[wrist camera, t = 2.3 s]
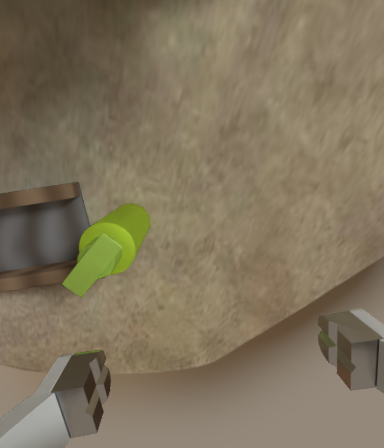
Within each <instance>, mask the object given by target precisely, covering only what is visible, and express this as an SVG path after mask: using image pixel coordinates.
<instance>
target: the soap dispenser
mask: <svg viewBox="0 0 384 448" xmlns="http://www.w3.org/2000/svg"><path fill="white" fill-rule="evenodd" d="M149 227H150V218H149V215H148V213H147V212H146V210H145V209H144V208H142V207H141V206H139V205H136V204H125V205H122V206H121V207H119V208H118V209H116V210H115V211H113V212H112V213H110V214H109V215H107V216H106V217H104V218H103V219H101V220H100V221H98V222H96V223H95V224H93V225H92V226H90V227H89V228H88V229H87V230H86V231H85V232H84V233H83V234H82V236H81V238H80V242H79V252H80V253H79V255H78V258H77V265H76V266H75V267H74V269H73V270H72V271H71V272H70V274H69V275H68V276H67V278H66V279H65V280H64V281H63V283H62V285H63V286H65V287H66V288H68V289H69V290H71V291H72V292H74V293H75V294H77V295H78V296H80V297H81V298H82V297H83V296H84V294H85V293H86V292H87V291H88V289H89V288H90V287H91V286H92V285H93V283H94V282H95V281H96V280H97V279H102V278H105V277H107V276H108V275H114V274H118V273H120V272H123V271H124V270H126V269H127V268H128V267H129V266H130V265H131V263H132V262H133V260H134V258H135V256H136V254H137V252H138V250H139V248H140V246H141V244H142V242H143V240H144V238H145V236H146V234H147V232H148V230H149Z"/></svg>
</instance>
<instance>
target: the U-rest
mask: <svg viewBox="0 0 384 448" xmlns="http://www.w3.org/2000/svg"><path fill="white" fill-rule="evenodd" d="M89 227H90V224H89V221H88V217H87V213H86V209H85V205H84V201H83V198H82V194H81V190H80V186H79V182H75V183H68V184H61V185H55V186H48V187H42V188H35V189H28V190H22V191H15V192H9V193H2V194H0V292H5V291H11V290H17V289H24V288H30V287H36V286H43V285H49V284H55V283H62V282H63V281H64V280H65V279H66V278H67V276H68V275H69V274H70V272H71V271H72V270H73V269H74V267H75V266H76V265H77V258H78V255H79V253H80V252H79V242H80V238H81V236H82V234H83V233H84V232H85V231H86V230H87V229H88V228H89Z"/></svg>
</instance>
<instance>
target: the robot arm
mask: <svg viewBox="0 0 384 448" xmlns="http://www.w3.org/2000/svg"><path fill="white" fill-rule="evenodd" d="M318 325H319V326H320V327H321V329H322V330H321V332H320V333H319V335H318V341H319V346H320V349H321V351H322V353H323V355H324V357H325V358H326V360H327V361H328V362H329V363H330V364H332V365H334V366H336V367H337V374H338V375H339V376H340V378H341V379H342V380H343V382H344V383H345V384H346V385H347V387H348V388H349V389H350V390H351V391H352V390H359V389H366V388H374V387H377V389H378V390H380V391H381V392H383V393H384V325H383V324H382V323H380V322H379V321H378V320H376V319H375V318H374V317H372V316H371V315H370V314H368V313H367V312H366V311H364V310H363V309H360V308H356V309H351V310H346V311H342V312H336V313H330V314H324V315H319V318H318ZM105 361H106V356H105V353H104V351H103V350H95V351H88V352H80V353H75V354H67V355H61V356H60V357H58V358H57V359H56V361H55V363H54V364H53V366H52V367H51V369H50V370H49V372H48V373H47V375H46V377H45V378H44V380H43V381H42V383H41V384H40V386H39V387H38V389H37V390H36V392H35V394H34V395H33V396H30V397H27V398H26V399H25V400H23V401H22V402H21V403H20V404H18V405H17V406H16V407H15V408H13V409H12V410H11V411H9V412H8V413H7V414H6V415H4V416H3V417H2V418H1V419H0V448H65V446H66V445H67V444H68V442H69V441H70V438H75V437H80V436H85V435H90V434H95V433H97V432H98V428H99V425H100V422H101V419H102V415H103V408H102V405H103V404H104V402H105V401H106V400H107V399H108V396H109V392H110V386H111V376H110V371H109V368H107V367H106V366H105V365H104V363H105Z"/></svg>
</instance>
